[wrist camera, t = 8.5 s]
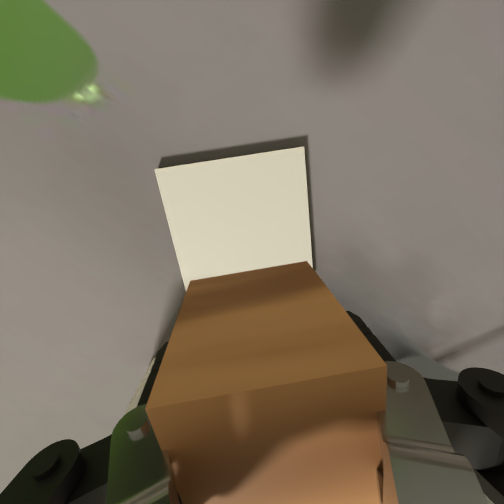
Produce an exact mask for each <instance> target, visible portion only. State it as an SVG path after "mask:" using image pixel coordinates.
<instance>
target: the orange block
mask: <svg viewBox="0 0 504 504" xmlns="http://www.w3.org/2000/svg"><path fill="white" fill-rule="evenodd" d="M386 388H387V365H386V363H385V362H384V361H383V360H382V358H381V357H380V356H379V354H378V353H377V352H376V350H375V349H374V348H373V346H372V345H371V344H370V343H369V341H368V340H367V339H366V337H365V336H364V335H363V333H362V332H361V331H360V329H359V328H358V327H357V326H356V324H355V323H354V322H353V320H352V319H351V318H350V316H349V315H348V314H347V312H346V311H345V310H344V309H343V307H342V306H341V305H340V303H339V302H338V301H337V299H336V298H335V297H334V295H333V294H332V293H331V292H330V290H329V289H328V288H327V286H326V285H325V284H324V282H323V281H322V280H321V279H320V277H319V276H318V275H317V273H316V272H315V271H314V269H313V268H312V267H311V265H310V264H309V263H308V262H307V261H303V262H298V263H292V264H286V265H280V266H274V267H268V268H262V269H256V270H251V271H245V272H239V273H233V274H227V275H221V276H215V277H210V278H204V279H198V280H192V281H190V283H189V286H188V289H187V291H186V294H185V297H184V300H183V303H182V306H181V308H180V311H179V314H178V317H177V320H176V323H175V326H174V328H173V331H172V334H171V337H170V340H169V343H168V345H167V348H166V351H165V354H164V357H163V360H162V362H161V365H160V368H159V371H158V374H157V377H156V379H155V382H154V385H153V388H152V391H151V394H150V396H149V399H148V402H147V405H146V408H145V410H146V413H147V415H148V418H149V420H150V423H151V425H152V428H153V430H154V433H155V435H156V438H157V440H158V443H159V445H160V448H161V451H164V450H168V452H169V454H170V457H171V460H172V462H173V467H174V474H175V481H176V488H177V491H178V493H179V496H180V498H181V501H182V503H183V504H379V497H378V490H377V482H376V469H379V468H383V460H382V452H381V446H380V440H379V434H378V428H377V412H378V411H384V410H386Z"/></svg>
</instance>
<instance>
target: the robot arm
mask: <svg viewBox="0 0 504 504" xmlns="http://www.w3.org/2000/svg"><path fill="white" fill-rule="evenodd" d="M346 312H347V314H348V315H349V316H350V318H351V319H352V320H353V322H354V323H355V324H356V326H357V327H358V328H359V329H360V331H361V332H362V333H363V335H364V336H365V337H366V339H367V340H368V341H369V343H370V344H371V345H372V346H373V348H374V349H375V350H376V352H377V353H378V354H379V356H380V357H381V358H382V360H383V361H384V362H385V363H386V365H387V388H386V410H384V411H378V412H377V428H378V434H379V440H380V446H381V452H382V460H383V468H379V469H376V482H377V490H378V497H379V504H488V502H487V499H486V497H485V495H486V496H488V498H489V499H490V500H491V501H492V502H493V503H494V504H504V375H503V374H501V373H499V372H496V371H493V370H489V369H485V368H467V369H464V370H463V371H461V372H460V374H459V377H458V381H447V380H435V379H428V378H424V377H422V375H421V374H420V373H419V372H418V371H416V370H415V369H414V368H412V367H410V366H408V365H406V364H403V363H400V362H396V361H395V359H394V358H393V357H392V356H391V355H390V353H389V352H388V351H387V350H386V348H385V347H384V346H383V345H382V344H381V342H380V341H379V340H378V339H377V338H376V336H375V335H374V334H372V332H371V330H370V329H369V328H368V327H367V326H366V324H365V323H364V322H363V321H362V319H361V318H360V317H359V316H357V315H355V314H353V313H352V312H350V311H346ZM168 343H169V342H166V343H165V344H164V346H163V347H162V348H161V349H160V350H159V351H158V353H157V356H156V358H155V361H154V364H153V366H152V368H151V373H149V376H148V379H147V381H146V384H145V386H144V389H143V391H142V394H141V397H140V399H139V402H138V404H137V407H136V408H134V409H132V410H131V411H129V412H128V413H127V414H125V415H124V416H123V417H122V418H121V419H120V420H119V422H118V423H117V424H116V426H115V428H114V430H113V432H112V434H111V435H110V436H108V437H106V438H104V439H102V440H100V441H97V442H95V443H93V444H91V445H89V446H87V447H85V448H82V449H80V448H79V446H78V444H77V443H76V442H75V441H74V440H70V439H66V440H61V441H58V442H55V443H53V444H51V445H49V446H48V447H46V448H44V449H43V450H42V451H40V452H39V453H38V454H36V455H35V456H34V457H33V458H32V459H31V460H30V461H29V462H28V463H27V464H26V465H25V466H24V467H23V469H22V470H21V471H20V472H19V473H18V474H17V475H16V477H15V478H14V479H13V480H12V481H11V482H10V484H9V485H8V486H7V487H6V488H5V489H4V490H3V492H2V493H1V494H0V504H183V503H182V501H181V498H180V496H179V493H178V491H177V488H176V481H175V474H174V467H173V462H172V460H171V457H170V454H169V452H168V450H164V451H161V448H160V445H159V443H158V440H157V438H156V435H155V433H154V430H153V428H152V425H151V423H150V420H149V418H148V415H147V413H146V410H145V408H146V405H147V402H148V399H149V396H150V394H151V391H152V388H153V385H154V382H155V379H156V377H157V374H158V371H159V368H160V365H161V362H162V360H163V357H164V354H165V351H166V348H167V345H168ZM484 494H485V495H484Z"/></svg>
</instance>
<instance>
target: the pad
mask: <svg viewBox="0 0 504 504" xmlns="http://www.w3.org/2000/svg"><path fill="white" fill-rule="evenodd" d="M154 170H155V174H156V178H157V182H158V185H159V189H160V193H161V197H162V201H163V205H164V209H165V212H166V216H167V220H168V224H169V228H170V232H171V236H172V239H173V243H174V247H175V251H176V255H177V259H178V263H179V267H180V270H181V274H182V278H183V282H184V286H185V290H186V291H187V289H188V286H189V283H190V281H192V280H198V279H204V278H210V277H215V276H221V275H227V274H233V273H239V272H245V271H251V270H256V269H262V268H268V267H274V266H280V265H286V264H292V263H298V262H303V261H307V262H308V263H309V264H310V265H311V267H312V268H313V265H312V251H311V236H310V222H309V208H308V194H307V180H306V166H305V151H304V146H303V147H297V148H290V149H284V150H277V151H271V152H264V153H258V154H251V155H244V156H238V157H231V158H225V159H218V160H212V161H205V162H199V163H192V164H185V165H179V166H172V167H166V168H159V169H154Z"/></svg>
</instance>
